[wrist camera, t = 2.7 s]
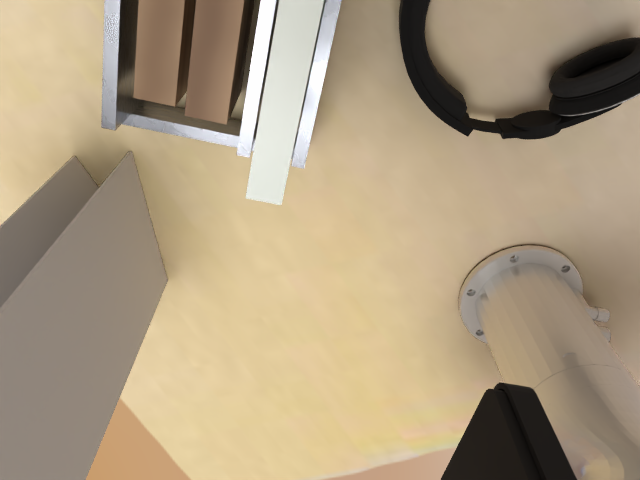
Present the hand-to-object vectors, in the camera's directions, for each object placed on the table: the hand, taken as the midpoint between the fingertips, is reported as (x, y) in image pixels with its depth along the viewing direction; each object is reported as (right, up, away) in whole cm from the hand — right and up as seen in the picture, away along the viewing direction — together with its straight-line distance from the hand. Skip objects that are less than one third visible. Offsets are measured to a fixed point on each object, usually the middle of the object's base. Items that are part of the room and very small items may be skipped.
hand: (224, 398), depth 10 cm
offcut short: (-9, +22, +34) cm, 41 cm away
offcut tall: (-5, +21, +34) cm, 41 cm away
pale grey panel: (0, +20, +35) cm, 40 cm away
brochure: (-17, +5, +44) cm, 47 cm away
